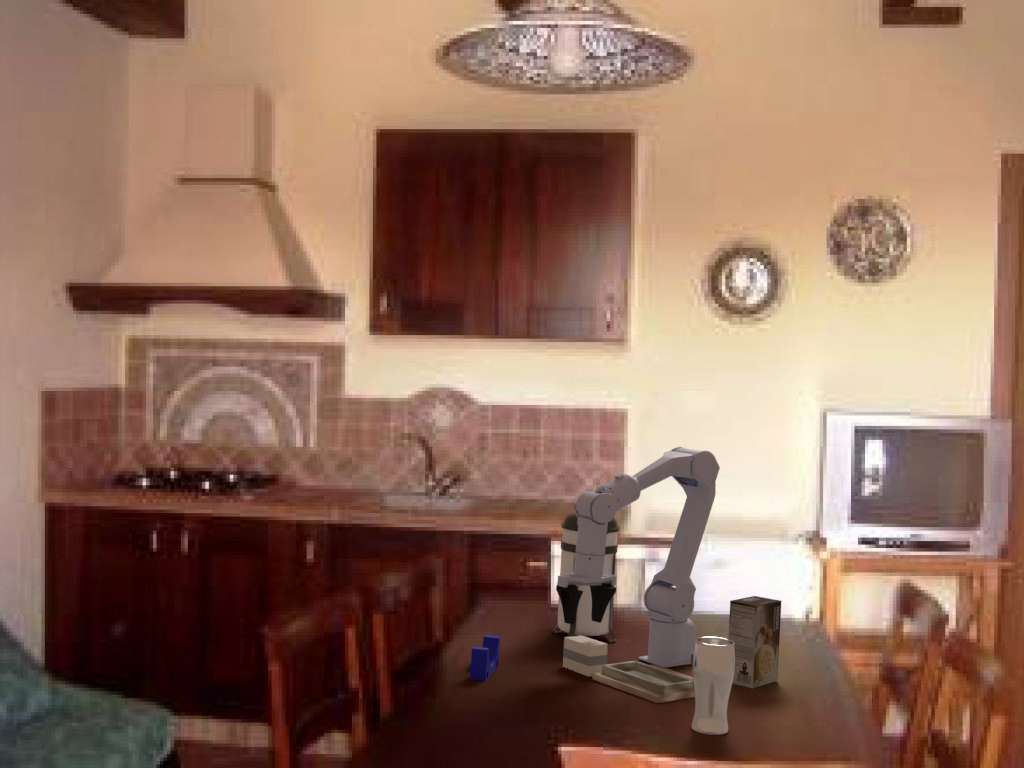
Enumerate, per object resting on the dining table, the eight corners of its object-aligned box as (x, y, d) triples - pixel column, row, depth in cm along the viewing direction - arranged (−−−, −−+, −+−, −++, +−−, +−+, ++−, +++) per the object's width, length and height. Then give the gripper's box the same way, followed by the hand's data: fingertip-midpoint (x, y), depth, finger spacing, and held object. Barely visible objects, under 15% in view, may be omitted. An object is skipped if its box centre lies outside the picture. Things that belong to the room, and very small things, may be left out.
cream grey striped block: (579, 665, 249) (581, 635, 249) (606, 674, 243) (608, 644, 242) (562, 667, 246) (564, 637, 246) (588, 677, 240) (590, 646, 240)
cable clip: (475, 664, 245) (477, 634, 245) (498, 666, 244) (499, 636, 244) (462, 679, 233) (464, 647, 233) (485, 681, 233) (487, 650, 232)
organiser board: (653, 670, 247) (655, 633, 247) (719, 692, 233) (721, 653, 233) (592, 679, 238) (594, 640, 238) (657, 703, 223) (659, 662, 223)
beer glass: (684, 722, 212) (689, 635, 212) (724, 724, 213) (729, 636, 212) (694, 735, 205) (699, 645, 205) (735, 736, 206) (740, 646, 205)
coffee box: (749, 675, 248) (754, 594, 248) (778, 681, 244) (783, 600, 243) (724, 682, 241) (729, 599, 241) (753, 689, 237) (758, 605, 237)
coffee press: (631, 636, 277) (639, 502, 277) (597, 648, 264) (605, 507, 263) (564, 624, 286) (571, 494, 286) (528, 635, 273) (535, 499, 272)
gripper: (600, 549, 252) (594, 616, 251) (549, 550, 242) (542, 620, 242) (626, 555, 246) (619, 623, 246) (575, 556, 237) (567, 627, 237)
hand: (583, 622), depth 244 cm, fingers open, 7 cm apart
